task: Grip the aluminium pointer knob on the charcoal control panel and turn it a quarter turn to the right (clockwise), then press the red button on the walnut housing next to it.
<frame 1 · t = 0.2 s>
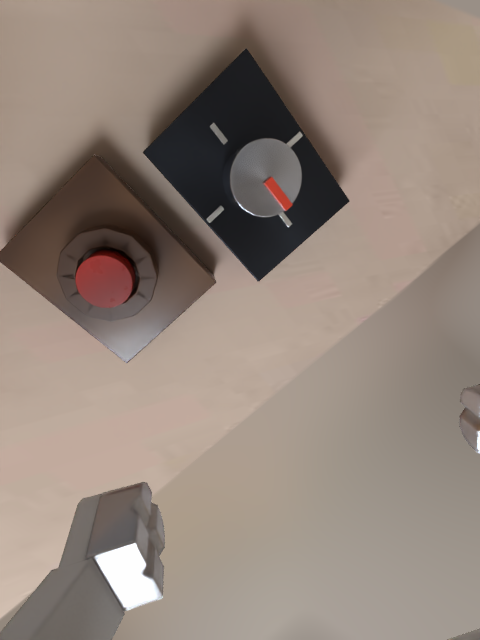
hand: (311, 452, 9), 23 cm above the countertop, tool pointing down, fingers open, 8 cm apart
red button: (106, 278, 25), point 4 cm above the countertop, slide at 0.1 cm
dial: (260, 178, 23), point 5 cm above the countertop, hinge at 0.0°
dial panel: (245, 177, 28), on the countertop
button box: (116, 263, 29), on the countertop
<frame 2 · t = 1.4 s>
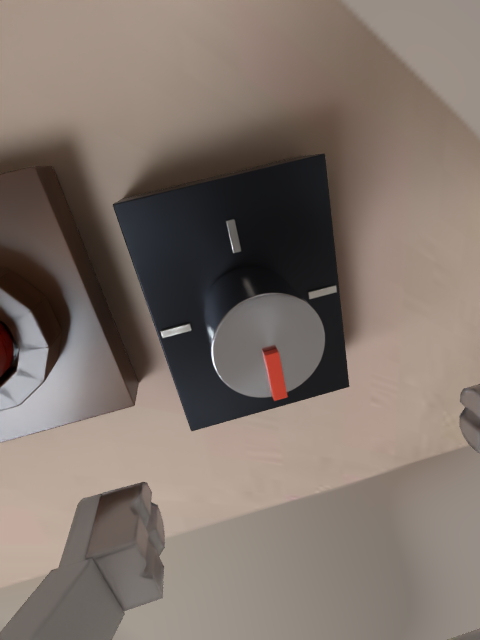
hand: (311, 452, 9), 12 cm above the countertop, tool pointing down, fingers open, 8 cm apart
dial: (259, 328, 15), point 5 cm above the countertop, hinge at 0.0°
dial panel: (239, 290, 20), on the countertop
button box: (4, 313, 18), on the countertop
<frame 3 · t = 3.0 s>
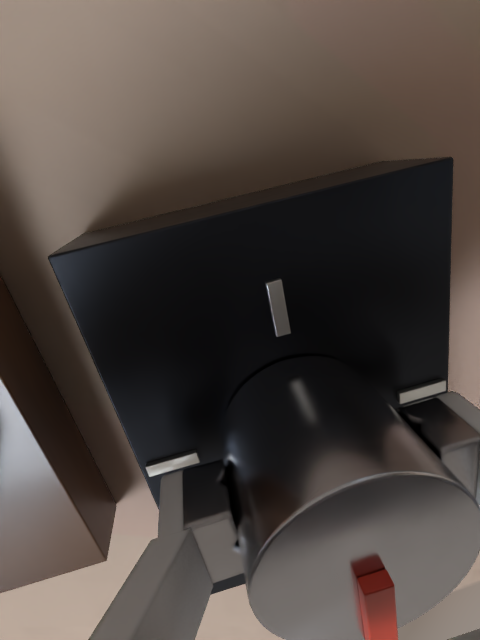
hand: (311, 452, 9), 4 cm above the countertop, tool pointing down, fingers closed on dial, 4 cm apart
dial: (330, 487, 8), point 5 cm above the countertop, hinge at 0.0°, touching gripper
dial panel: (272, 370, 13), on the countertop
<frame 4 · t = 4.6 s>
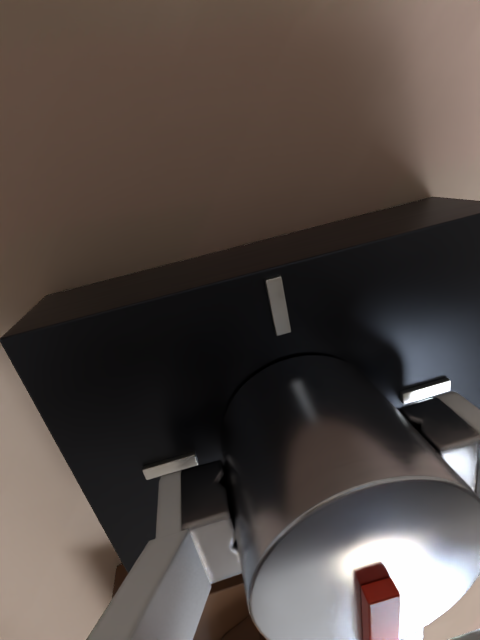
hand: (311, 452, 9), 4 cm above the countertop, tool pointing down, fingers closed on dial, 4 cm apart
dial: (332, 490, 8), point 5 cm above the countertop, hinge at -93.3°, touching gripper
dial panel: (272, 370, 13), on the countertop
button box: (277, 592, 17), on the countertop
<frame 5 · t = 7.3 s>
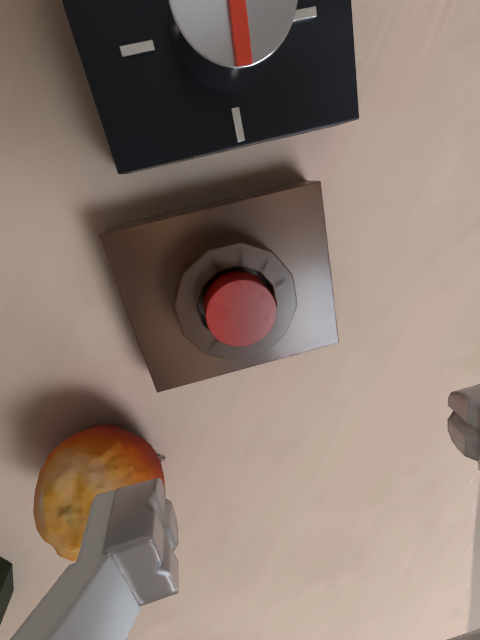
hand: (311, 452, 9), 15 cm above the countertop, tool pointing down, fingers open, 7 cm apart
red button: (239, 308, 19), point 4 cm above the countertop, slide at 0.1 cm
dial: (226, 11, 13), point 5 cm above the countertop, hinge at -93.7°
fruit: (112, 448, 26), on the countertop
dial panel: (213, 53, 18), on the countertop
button box: (227, 284, 23), on the countertop
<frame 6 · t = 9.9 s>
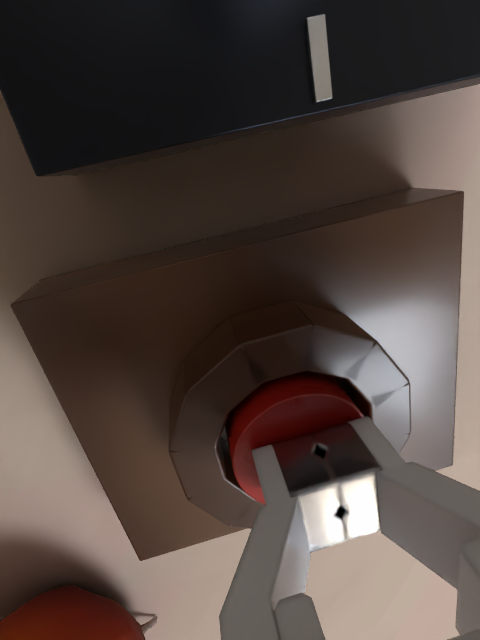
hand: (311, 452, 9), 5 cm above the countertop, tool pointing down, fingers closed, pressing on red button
red button: (293, 432, 10), point 4 cm above the countertop, slide at -0.8 cm, touching gripper
fruit: (71, 611, 17), on the countertop
button box: (263, 367, 13), on the countertop
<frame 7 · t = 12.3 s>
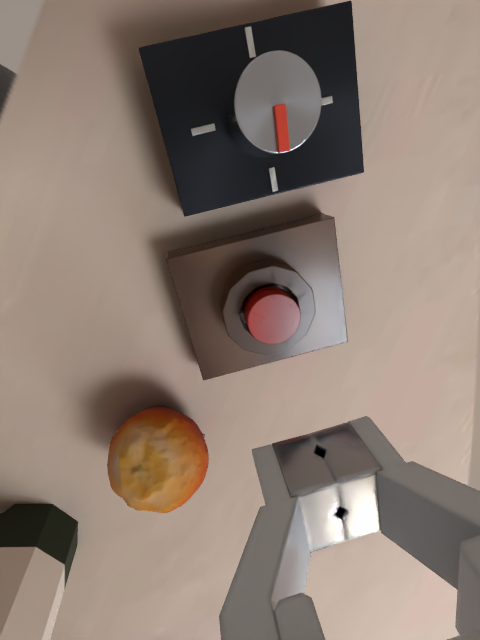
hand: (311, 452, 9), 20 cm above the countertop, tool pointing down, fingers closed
red button: (271, 315, 25), point 4 cm above the countertop, slide at 0.1 cm
wine bottle: (35, 532, 35), on the countertop
dial: (270, 110, 19), point 5 cm above the countertop, hinge at -93.7°
fruit: (162, 426, 32), on the countertop
dial panel: (253, 122, 24), on the countertop
button box: (259, 294, 29), on the countertop
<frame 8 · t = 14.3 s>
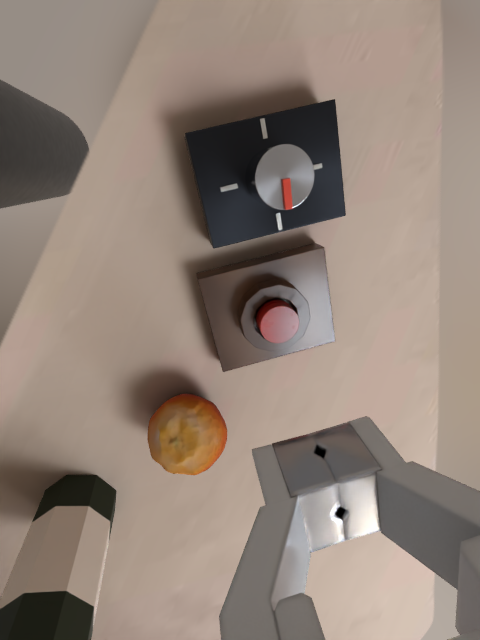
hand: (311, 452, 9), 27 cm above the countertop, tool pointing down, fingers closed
red button: (277, 321, 33), point 4 cm above the countertop, slide at 0.1 cm
wine bottle: (81, 499, 42), on the countertop
dial: (278, 177, 27), point 5 cm above the countertop, hinge at -93.7°
fruit: (187, 410, 40), on the countertop
dial panel: (263, 177, 32), on the countertop
button box: (266, 304, 37), on the countertop
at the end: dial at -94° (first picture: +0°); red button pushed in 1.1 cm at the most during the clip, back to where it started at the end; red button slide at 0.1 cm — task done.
